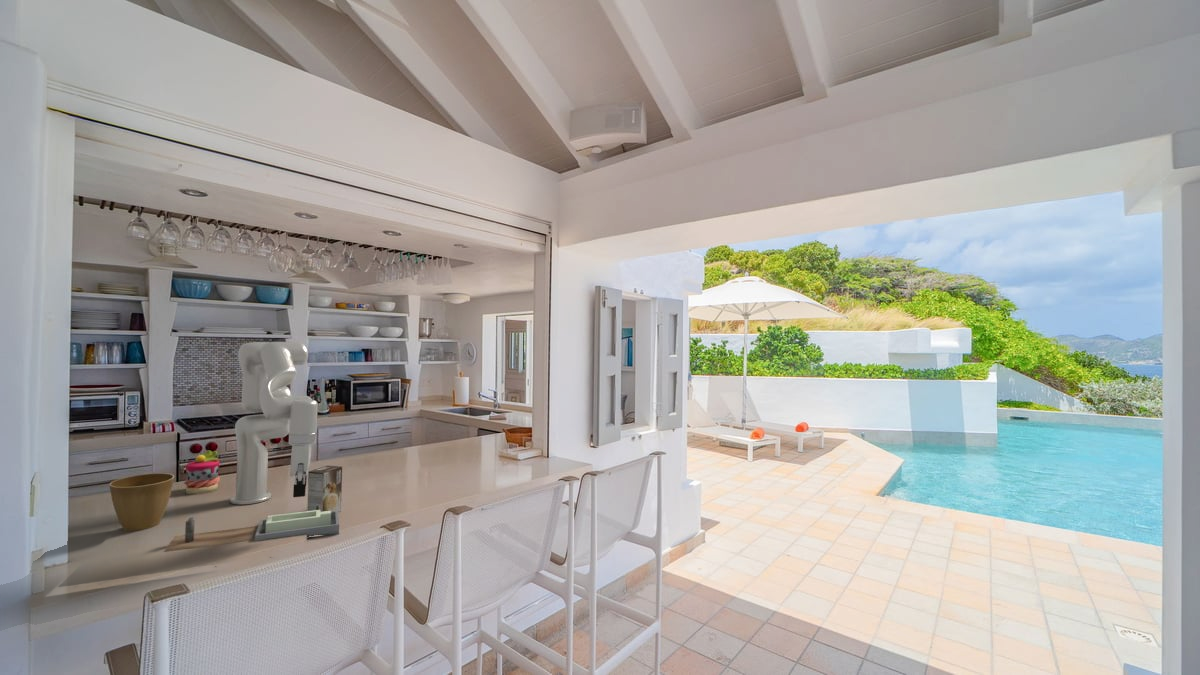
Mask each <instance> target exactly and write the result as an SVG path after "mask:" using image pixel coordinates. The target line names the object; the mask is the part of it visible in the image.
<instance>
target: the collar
mask: <svg viewBox="0 0 1200 675" xmlns="http://www.w3.org/2000/svg"><path fill="white" fill-rule="evenodd" d="M266 519H267V522H266V525H265V533H272V532H279V531H287V530H294V529H302V528H310V527H317V526H325V525H331V511H324V512H320V510H313V511H306V510H305V511H298V512H289V513H281V514H271V515H267V518H266Z"/></svg>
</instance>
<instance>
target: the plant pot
mask: <svg viewBox="0 0 1200 675" xmlns="http://www.w3.org/2000/svg"><path fill="white" fill-rule="evenodd" d="M174 481H175V475H174V474H173V473H164V472H163V473H162V472H157V473H155V472H153V473H144V474H137V475H136V474H135V475H130V476H125V477H121V478H118V479H116V480H114V481H111V482H110V483H109V492H110V495H111V496H110V497H111V500H112V504H113V508H114V512H115V514H116V517H117V520H118V522H119V524H120V526H121V528H122V530H123V531H127V532H134V531H135V532H136V531H143V530H149V529H150V528H151V529H152V528H154V527H157V526H158V525H160V523H161V521H162V519H163V516H164V514H165V511H166V509H167V506H168V504H169V499H170V497H171V494H172V491H173V490H172V489H173V485H174Z"/></svg>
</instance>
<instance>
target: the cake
mask: <svg viewBox="0 0 1200 675" xmlns="http://www.w3.org/2000/svg"><path fill="white" fill-rule="evenodd" d="M217 455H218V451H216V450H215V451H211V450H209V449H208V450H206V451H205V452H204V453H203V454H199V455H197V456H196V457H195V460H194V461H191V462H189V463H188V462H187V463H186V465H185V473H186V480H185V482H183V484H184V485H185V494H187V495H201V494H208V493H213V492H215V491H217V490H218V489H219V488H218V485H219V482H220V480H221V478H220V476H219V474H220V472H219V470H220V469H219V468H220V461H219V459H218V457H216V456H217Z"/></svg>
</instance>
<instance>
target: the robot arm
mask: <svg viewBox="0 0 1200 675" xmlns="http://www.w3.org/2000/svg"><path fill="white" fill-rule="evenodd" d="M237 358H238V362H239V363H238V364H239V366H240V369H241V373H242V387H241V388H242V391H241V408H242V409H243V410H244V411H246V412H251V413H253V412H254V413H255V412H262V413H263V414H253V415H252V414H251V415H245V416H242V417H241V418H239V419H237V421H236V422H235V425H234V429H235V430H234V431H235V438H236V446H237V447H236V449H237V451H236V454H237V456H236V478H235V479H236V480H235V481H236V482H235V495H234V496H231V498H230V501H229V502H230V503H231V504H232V505H252V504H253V505H254V504H258V503H261V502H265V501H268V500H270V499H271V498H272V493H271V492H269V491H268V490H267V486H268V467H269V464H268V461H269V460H268V458H269V451H268V448H267V447H266V446H265V445H264V444H263V443H262V441H263V440H270V439H271V440H273V439H279V438H284V437H286V436H287V435H288V445H290V446H291V455H290V456H291V457H290V470H289V471H290V472H289V476H290V477H291V478H293V477H294V484H293V489H292V490H293V492H292V493H293V494H292V497H293V498H300V497H301V498H302V497H305V496H306V489H307V488H306V487H307V481H308V480H307V479H308V472H309V471H310V467H311V466H310V465H311V458H312V457H311V455H312V445H314V444H316V443H317V431H318V430H317V429H318V409H319V404H318V401H316V400H315V399H312V397H311V396H308V395H292V392H291V389H290V388H289V387H288V386H289V385H291V384H292V383H294V381H295V380H296V379H297V377H298V371H297V369H296V366H302V365H305V364H306V363H307V361H308V359H309V351H308V348H307V346H306V345H305V344H304V343H302V342H299V341H271V342H268V341H263V342H262V341H256V342H255V341H254V342H253V341H251V342H246V343H244V344H242V345H241V346H240V347H239V349H238V356H237Z"/></svg>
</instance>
